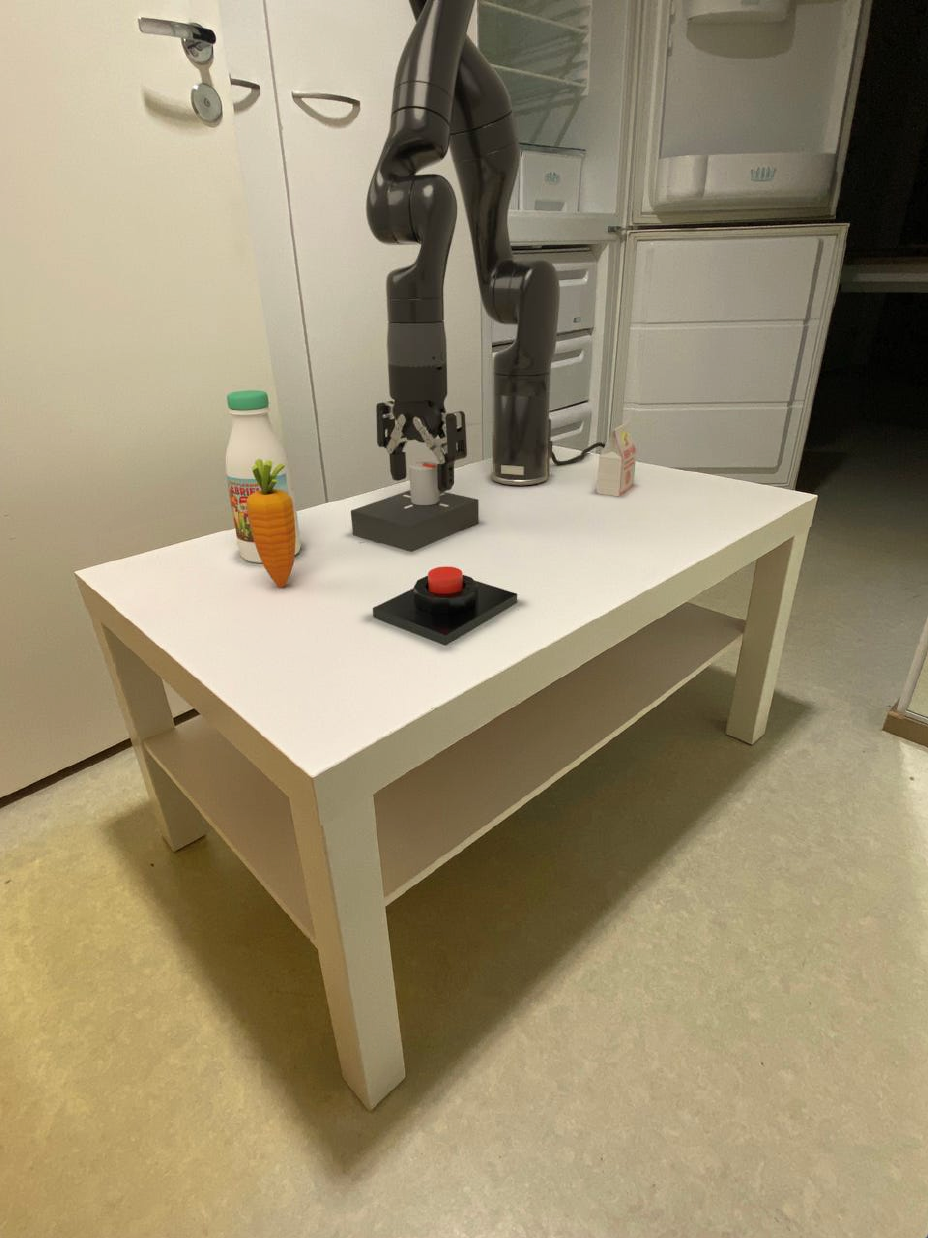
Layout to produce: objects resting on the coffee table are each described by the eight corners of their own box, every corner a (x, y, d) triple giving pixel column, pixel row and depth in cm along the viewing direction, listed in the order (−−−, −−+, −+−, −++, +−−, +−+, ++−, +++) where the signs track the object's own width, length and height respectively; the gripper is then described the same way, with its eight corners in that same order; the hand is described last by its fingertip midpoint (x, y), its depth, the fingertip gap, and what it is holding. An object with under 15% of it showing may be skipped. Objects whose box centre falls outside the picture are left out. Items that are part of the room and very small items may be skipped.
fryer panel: (421, 508, 106) (420, 485, 104) (478, 523, 99) (478, 498, 98) (352, 534, 96) (350, 509, 95) (411, 552, 90) (409, 525, 88)
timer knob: (405, 501, 97) (402, 463, 95) (424, 494, 100) (422, 457, 98) (426, 507, 95) (424, 468, 93) (445, 499, 98) (444, 462, 95)
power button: (443, 578, 76) (443, 563, 75) (469, 586, 74) (469, 571, 73) (421, 589, 73) (420, 574, 73) (447, 598, 71) (447, 582, 71)
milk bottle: (250, 542, 94) (225, 387, 85) (307, 542, 94) (288, 386, 85) (231, 564, 87) (202, 398, 78) (293, 564, 87) (270, 397, 78)
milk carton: (596, 493, 111) (601, 429, 107) (611, 482, 116) (616, 421, 112) (618, 496, 110) (624, 431, 105) (633, 485, 115) (639, 423, 110)
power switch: (447, 580, 82) (446, 556, 80) (517, 603, 76) (517, 578, 75) (373, 618, 74) (370, 592, 72) (445, 646, 68) (444, 618, 66)
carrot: (263, 580, 83) (243, 453, 76) (306, 578, 83) (289, 451, 76) (256, 597, 78) (233, 465, 72) (300, 595, 79) (283, 463, 72)
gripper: (357, 358, 91) (366, 481, 98) (439, 366, 83) (442, 500, 90) (398, 353, 96) (403, 471, 103) (479, 360, 88) (479, 487, 95)
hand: (421, 484), depth 96 cm, fingers open, 8 cm apart
